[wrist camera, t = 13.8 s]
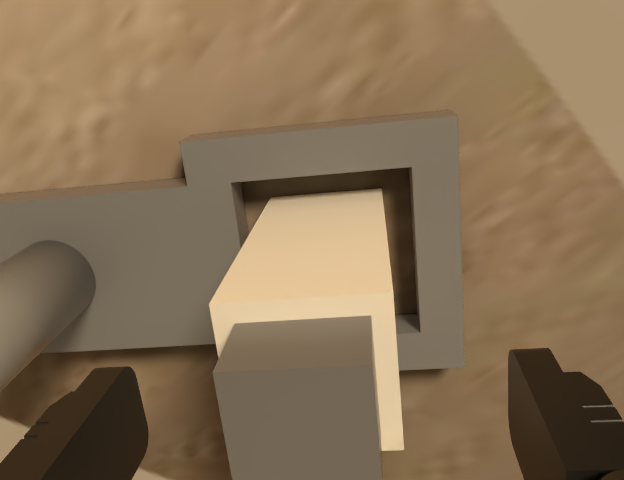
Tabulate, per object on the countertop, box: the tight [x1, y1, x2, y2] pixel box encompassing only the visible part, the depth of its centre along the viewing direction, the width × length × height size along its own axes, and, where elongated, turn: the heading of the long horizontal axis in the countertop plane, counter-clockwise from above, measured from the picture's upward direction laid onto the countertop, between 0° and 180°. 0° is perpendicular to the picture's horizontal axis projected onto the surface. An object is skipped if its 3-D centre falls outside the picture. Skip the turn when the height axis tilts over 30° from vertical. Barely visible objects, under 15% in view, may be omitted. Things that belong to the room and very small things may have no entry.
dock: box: [0, 110, 465, 392], centre depth 17 cm, size 18×9×12 cm, turn 96°
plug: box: [209, 188, 404, 480], centre depth 16 cm, size 4×4×11 cm
